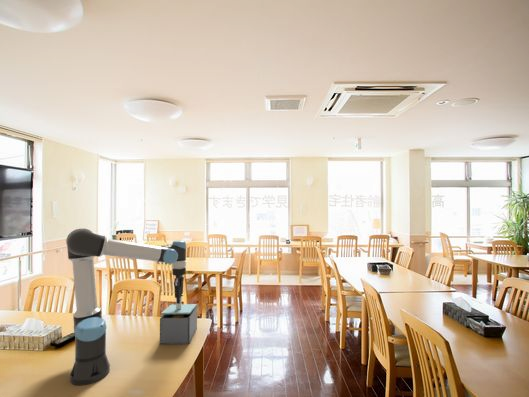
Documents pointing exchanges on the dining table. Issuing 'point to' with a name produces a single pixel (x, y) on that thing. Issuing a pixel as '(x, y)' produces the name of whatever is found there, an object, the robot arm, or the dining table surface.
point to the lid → (184, 310)
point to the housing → (178, 328)
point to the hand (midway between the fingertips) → (178, 308)
